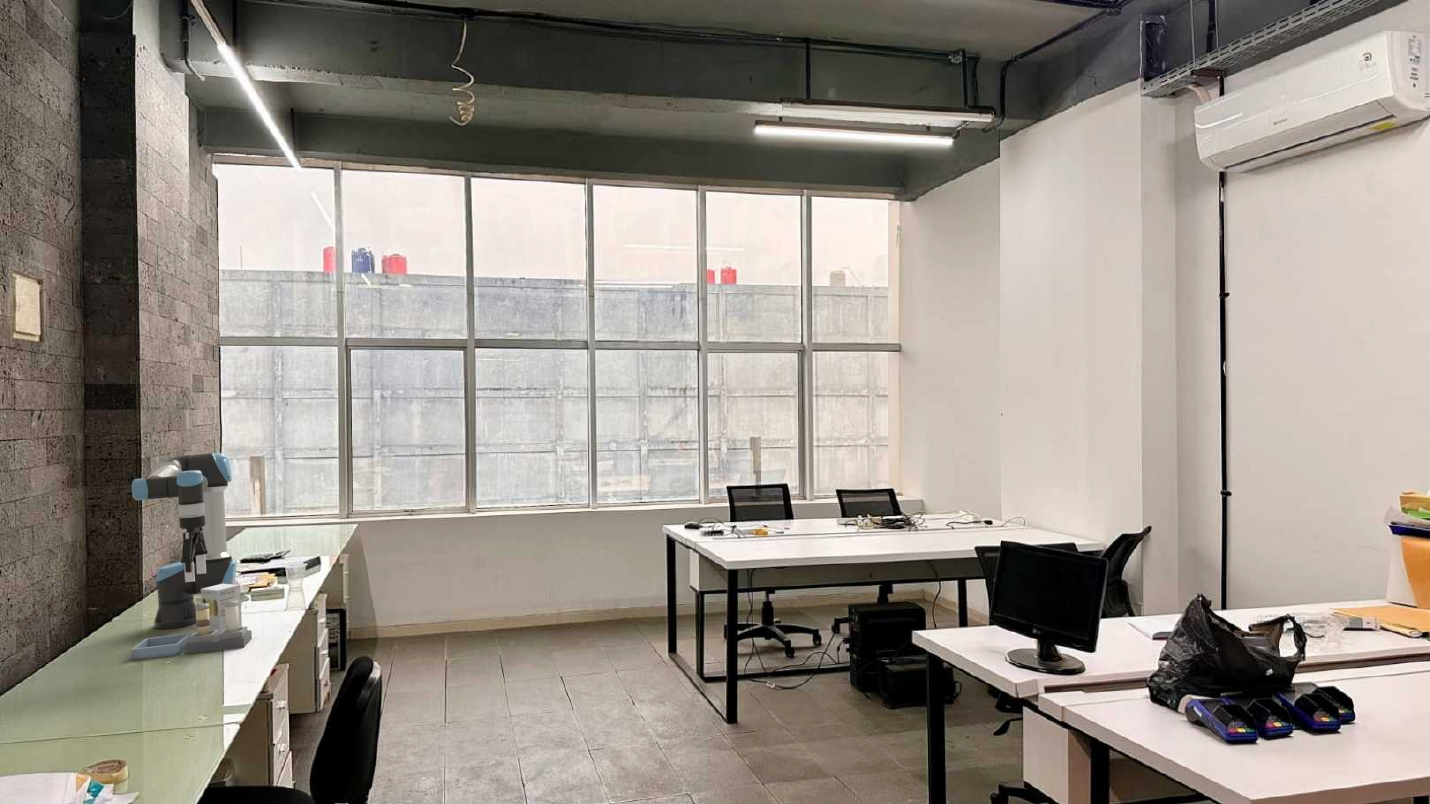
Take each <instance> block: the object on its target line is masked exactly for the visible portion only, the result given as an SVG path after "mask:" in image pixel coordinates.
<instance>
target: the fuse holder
mask: <svg viewBox="0 0 1430 804" xmlns="http://www.w3.org/2000/svg"><path fill="white" fill-rule="evenodd" d="M224 607H225V618H226V629H223V630H222V631H221V632H220V633H219V629H218V630H210V631H211V635H203V636H197V631H195V632H194V633H191V636H190V637H189V642H188V643H187V644H186V645H185V650H184V655H189V654H190V655H191V654H197V653H198V654H199V653H206V652H214V651H215V652H216V651H222V650H224V651H225V650H233V649H241V648H245V647H246V646H247V644H249V643H250V641H252V639H253V634H252V630H251V629H250V630H248V625H247V626H242V627H239V614H238V600H231V601H226V602H224Z"/></svg>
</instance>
